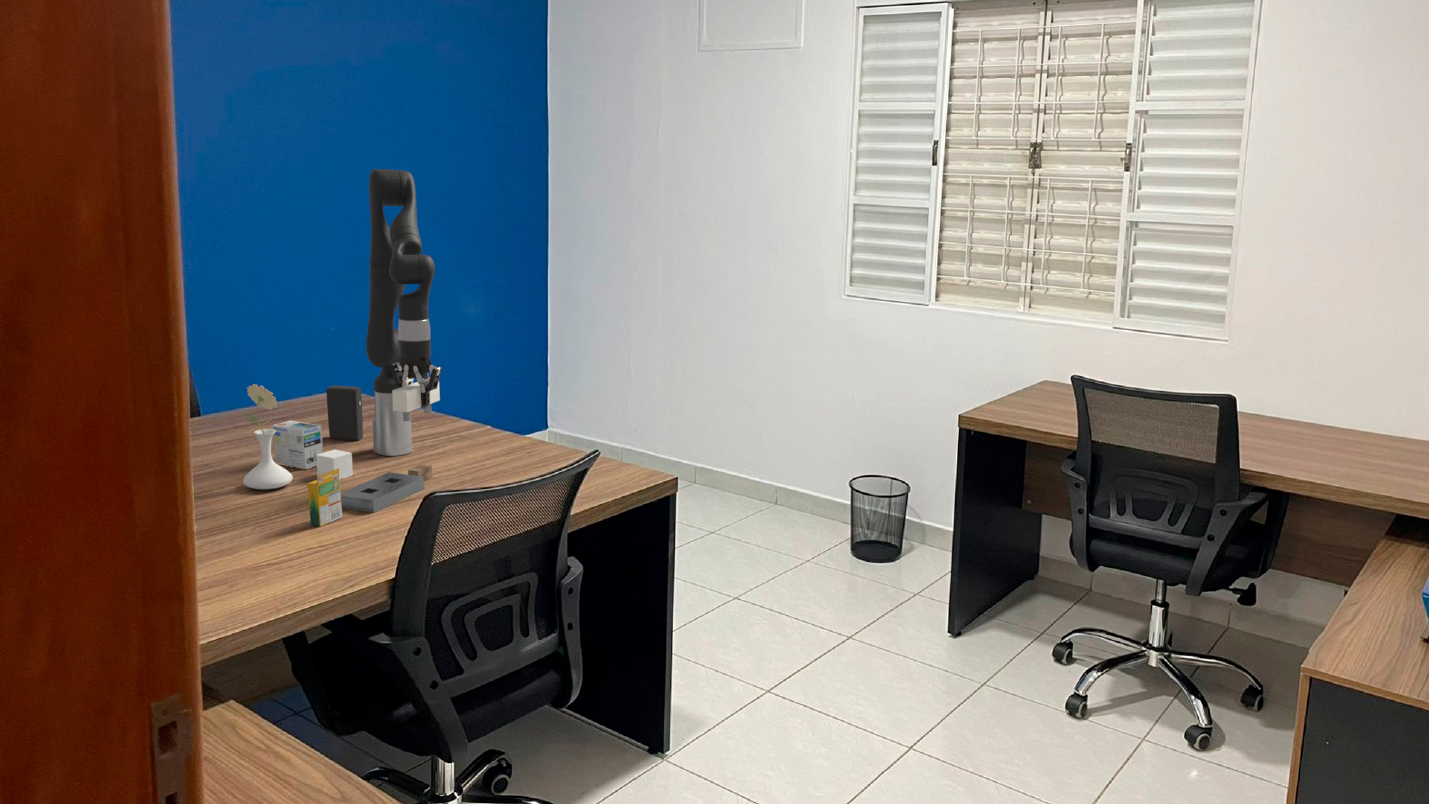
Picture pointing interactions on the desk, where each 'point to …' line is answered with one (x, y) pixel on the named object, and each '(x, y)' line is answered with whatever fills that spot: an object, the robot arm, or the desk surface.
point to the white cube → (335, 463)
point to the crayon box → (325, 499)
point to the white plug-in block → (412, 399)
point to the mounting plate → (381, 492)
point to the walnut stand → (421, 471)
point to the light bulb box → (297, 443)
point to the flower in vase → (265, 447)
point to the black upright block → (345, 412)
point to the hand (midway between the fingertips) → (416, 405)
